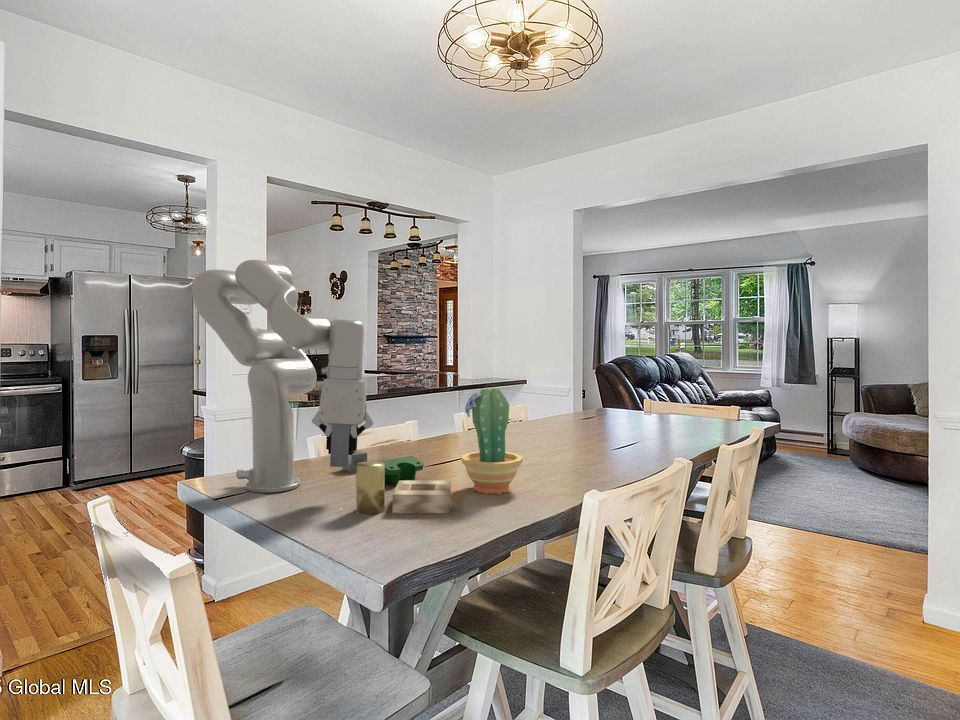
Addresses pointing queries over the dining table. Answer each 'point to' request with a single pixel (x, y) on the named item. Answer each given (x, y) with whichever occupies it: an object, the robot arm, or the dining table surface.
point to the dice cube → (356, 460)
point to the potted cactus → (490, 443)
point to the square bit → (340, 446)
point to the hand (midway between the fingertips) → (341, 452)
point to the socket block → (422, 496)
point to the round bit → (370, 487)
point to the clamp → (401, 469)
